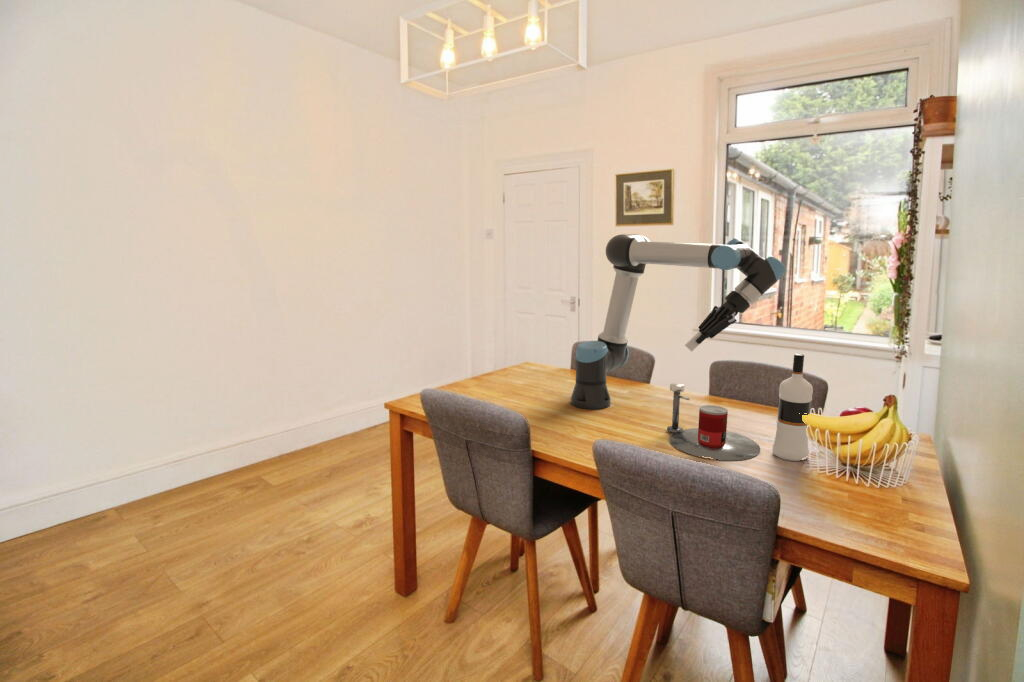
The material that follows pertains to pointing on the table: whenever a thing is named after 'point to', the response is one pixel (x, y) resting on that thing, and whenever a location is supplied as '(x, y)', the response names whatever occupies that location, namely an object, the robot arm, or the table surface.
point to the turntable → (731, 451)
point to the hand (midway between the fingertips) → (688, 348)
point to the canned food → (712, 426)
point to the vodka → (793, 414)
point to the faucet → (676, 407)
